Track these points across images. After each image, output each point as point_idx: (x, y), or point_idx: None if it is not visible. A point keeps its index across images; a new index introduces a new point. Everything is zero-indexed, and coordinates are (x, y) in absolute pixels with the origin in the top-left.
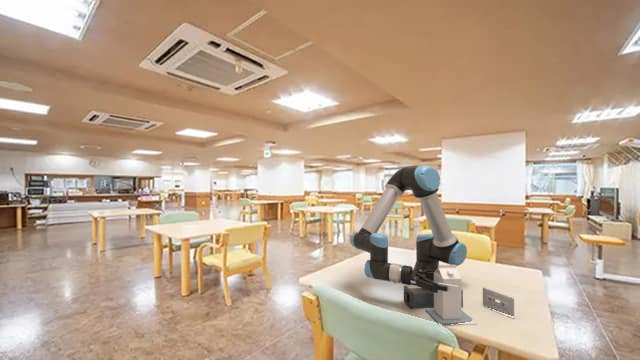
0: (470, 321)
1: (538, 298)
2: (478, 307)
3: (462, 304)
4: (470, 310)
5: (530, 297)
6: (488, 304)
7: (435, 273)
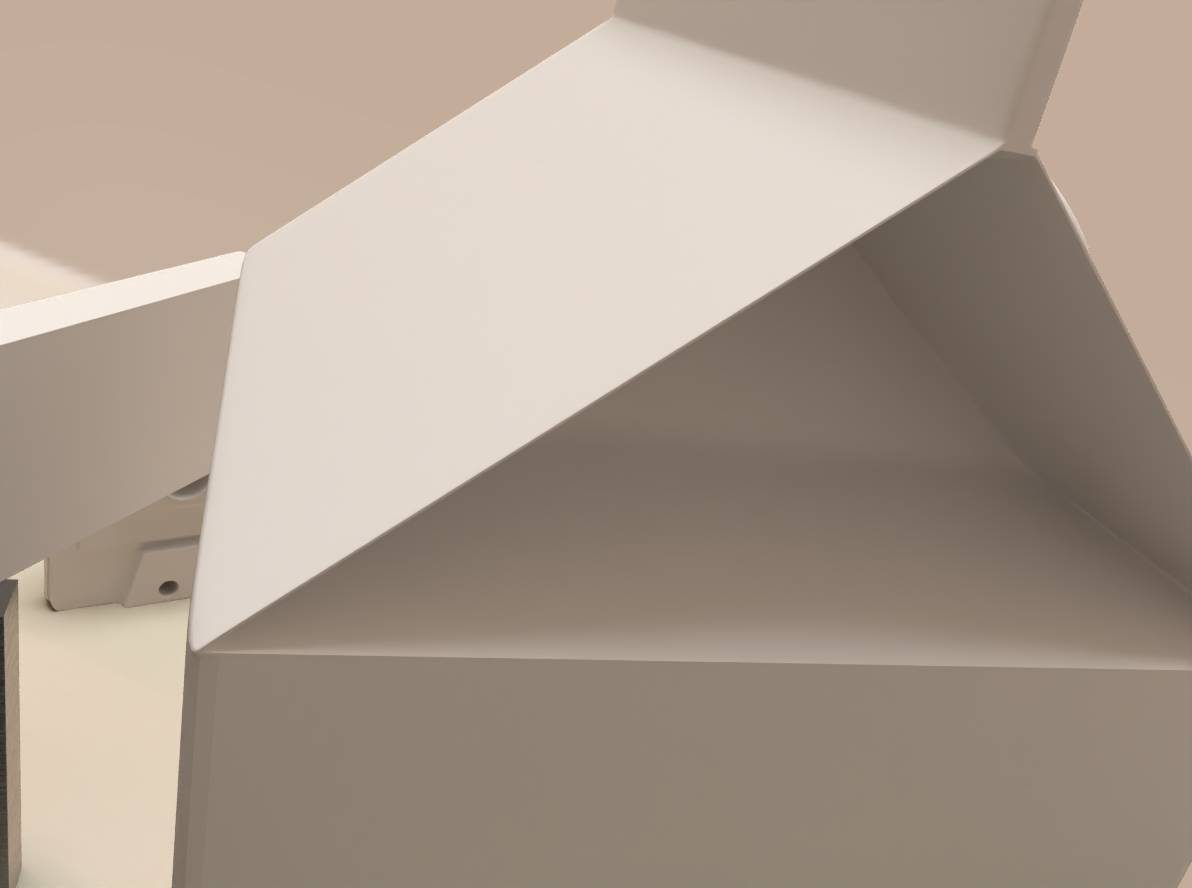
0: None
1: (52, 277)
2: (92, 675)
3: (17, 826)
4: (167, 811)
5: (13, 290)
6: (158, 554)
7: (424, 635)
